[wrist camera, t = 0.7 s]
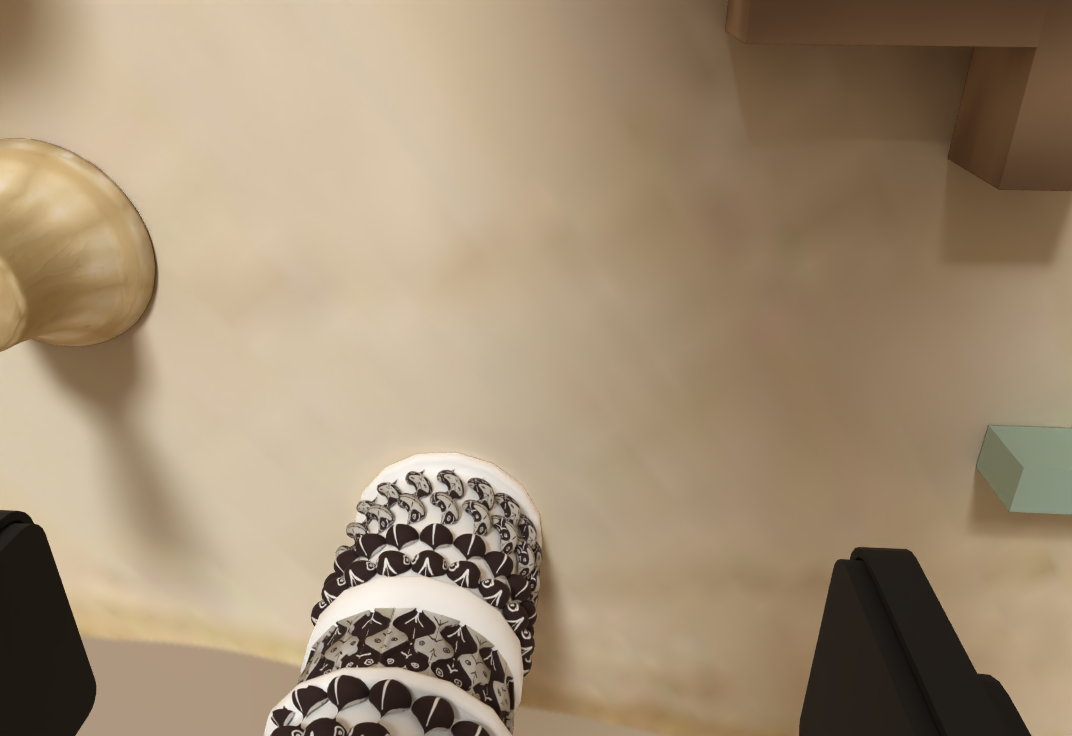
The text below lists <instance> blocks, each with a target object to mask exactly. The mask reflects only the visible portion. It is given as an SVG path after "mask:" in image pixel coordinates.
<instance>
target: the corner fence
mask: <svg viewBox="0 0 1072 736" xmlns="http://www.w3.org/2000/svg"><path fill="white" fill-rule="evenodd" d="M976 467H977V469H978V470H979V472H980V473H981V474H982V476H983V477H984V478H985V480H986V481H987V482H988V484H989V485H990V487H991V488H992V489H993V491H994V492H995V493H996V495H997V496H998V497H999V499H1000V500H1001V502H1002V503H1003V504H1004V506H1005V507H1006V508H1007V510H1008V511H1009V512H1023V513H1047V514H1072V428H1051V427H1022V426H994V425H989V426H988V430H987V433H986V436H985V440H984V443H983V446H982V449H981V453H980V456H979V459H978V463H977V466H976Z"/></svg>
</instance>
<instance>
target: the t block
mask: <svg viewBox="0 0 1072 736" xmlns="http://www.w3.org/2000/svg"><path fill="white" fill-rule="evenodd" d="M725 31H727V32H728V33H730V34H731V35H733V36H734V37H736V38H737V39H739V40H740V41H742V42H743V43H745V44H800V45H890V46H974V49H973V53H972V57H971V61H970V66H969V70H968V74H967V78H966V83H965V87H964V91H963V95H962V100H961V104H960V108H959V112H958V117H957V121H956V125H955V130H954V134H953V138H952V142H951V147H950V151H949V155H948V159H949V160H951V161H952V162H954V163H956V164H957V165H959V166H961V167H962V168H964V169H966V170H967V171H969V172H971V173H972V174H974V175H976V176H977V177H979V178H981V179H982V180H984V181H986V182H987V183H989V184H991V185H992V186H994V187H995V188H997V189H999V190H1050V191H1072V0H728V8H727V18H726V27H725Z"/></svg>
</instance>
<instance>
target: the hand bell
mask: <svg viewBox="0 0 1072 736" xmlns="http://www.w3.org/2000/svg"><path fill="white" fill-rule="evenodd" d="M154 279H155V262H154V255H153V249H152V245H151V241H150V239H149V235H148V232H147V230H146V228H145V226H144V223H143V222H142V220H141V218H140V216H139V214H138V212H137V210H136V209H135V207H134V206H133V205H132V203H131V202H130V201H129V199H128V198H127V197H126V195H125V194H124V192H123V191H122V190H121V189H120V188H119V187H118V186H117V185H116V184H115V183H114V181H112V180H111V179H110V178H109V177H108V176H107V175H106V174H105V173H104V172H103V171H101V170H100V169H99V168H98V167H97V166H95V165H94V164H92V163H91V162H89V161H87V160H85V159H83V158H82V157H80V156H78V155H77V154H75V153H73V152H71V151H69V150H66V149H64V148H62V147H59V146H56V145H53V144H49V143H46V142H42V141H38V140H33V139H23V138H10V139H1V140H0V352H1V351H4V350H6V349H8V348H10V347H12V346H14V345H16V344H18V343H20V342H23V341H26V340H28V339H34V340H36V341H40V342H45V343H49V344H54V345H65V346H85V345H93V344H98V343H102V342H105V341H108V340H111V339H113V338H115V337H117V336H119V335H121V334H122V333H124V332H125V331H127V330H128V329H130V328H131V327H132V325H133V324H135V323H136V322H137V321H138V320H139V318H140V317H141V315H142V314H143V312H144V311H145V309H146V307H147V305H148V303H149V301H150V298H151V295H152V291H153V287H154Z"/></svg>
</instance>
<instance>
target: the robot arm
mask: <svg viewBox="0 0 1072 736" xmlns="http://www.w3.org/2000/svg"><path fill="white" fill-rule="evenodd" d="M95 696H96V682H95V678H94V675H93V672H92V669H91V666H90V664H89V661H88V658H87V655H86V652H85V649H84V646H83V643H82V640H81V637H80V634H79V631H78V628H77V625H76V622H75V619H74V616H73V613H72V611H71V608H70V605H69V602H68V599H67V596H66V593H65V590H64V587H63V584H62V581H61V578H60V575H59V572H58V569H57V566H56V563H55V561H54V558H53V555H52V552H51V549H50V546H49V543H48V540H47V537H46V534H45V532H44V530H43V528H41V527H40V526H39V525H36V524H34V523H33V521H32V519H31V517H30V516H29V515H27V514H26V513H25V512H21V511H8V510H0V736H75V735H76V734H77V732H78V731H79V729H80V728H81V726H82V724H83V723H84V721H85V720H86V718H87V717H88V715H89V713H90V711H91V709H92V707H93V704H94V701H95ZM799 736H1031V734H1030V733H1029V731H1028V729H1027V727H1026V725H1025V724H1024V722H1023V720H1022V718H1021V716H1020V715H1019V713H1018V711H1017V709H1016V707H1015V706H1014V704H1013V702H1012V700H1011V698H1010V697H1009V695H1008V693H1007V692H1006V691H1005V689H1004V688H1003V686H1002V685H1001V683H1000V682H999V681H997V680H996V679H995V678H993V677H992V676H991V675H987V674H977V672H976V670H975V669H974V667H973V665H972V663H971V661H970V659H969V657H968V655H967V653H966V652H965V650H964V648H963V646H962V644H961V642H960V640H959V638H958V636H957V634H956V633H955V631H954V629H953V627H952V625H951V623H950V621H949V619H948V617H947V616H946V614H945V612H944V610H943V608H942V606H941V604H940V602H939V600H938V599H937V597H936V595H935V593H934V591H933V589H932V587H931V585H930V583H929V581H928V580H927V578H926V576H925V574H924V572H923V570H922V568H921V566H920V564H919V563H918V561H917V559H916V557H915V556H914V554H913V553H912V552H911V551H909V550H907V549H890V548H867V547H858V548H855V549H854V550H853V552H852V554H851V557H850V560H844V559H840V560H837V561H836V563H835V565H834V569H833V573H832V577H831V582H830V586H829V591H828V595H827V600H826V605H825V609H824V614H823V618H822V623H821V627H820V632H819V636H818V641H817V645H816V650H815V654H814V659H813V663H812V668H811V672H810V677H809V682H808V686H807V691H806V695H805V700H804V704H803V709H802V713H801V718H800V725H799Z"/></svg>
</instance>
